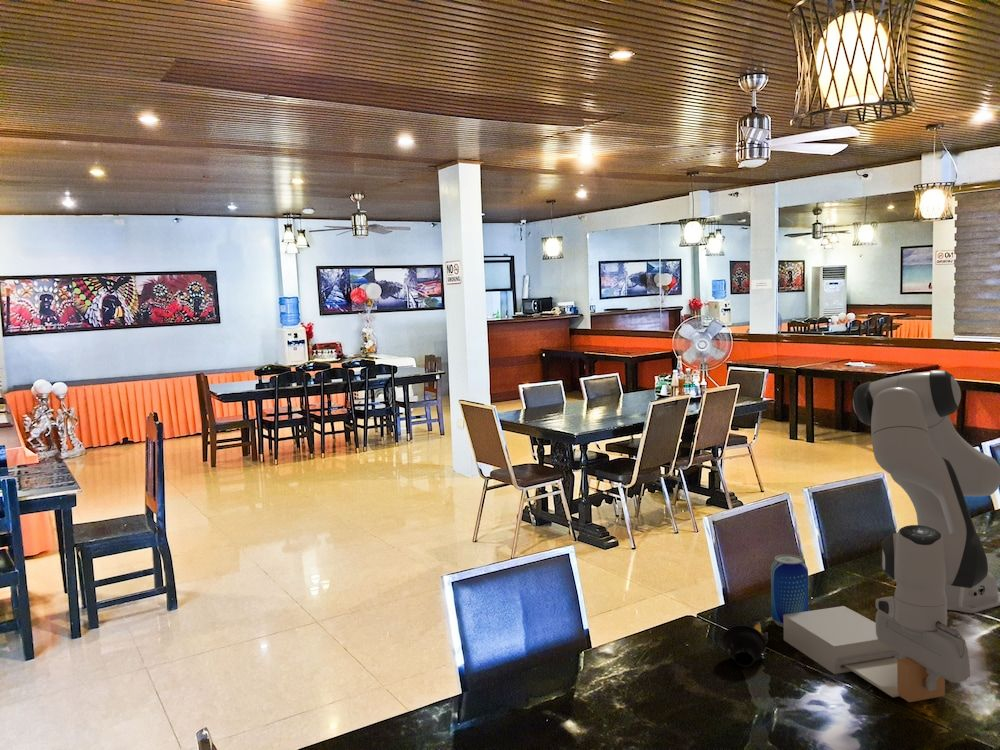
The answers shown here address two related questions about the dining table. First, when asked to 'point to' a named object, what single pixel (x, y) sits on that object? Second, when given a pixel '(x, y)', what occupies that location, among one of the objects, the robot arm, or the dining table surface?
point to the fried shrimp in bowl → (745, 643)
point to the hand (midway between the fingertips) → (920, 683)
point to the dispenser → (835, 637)
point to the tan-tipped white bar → (898, 678)
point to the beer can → (788, 587)
